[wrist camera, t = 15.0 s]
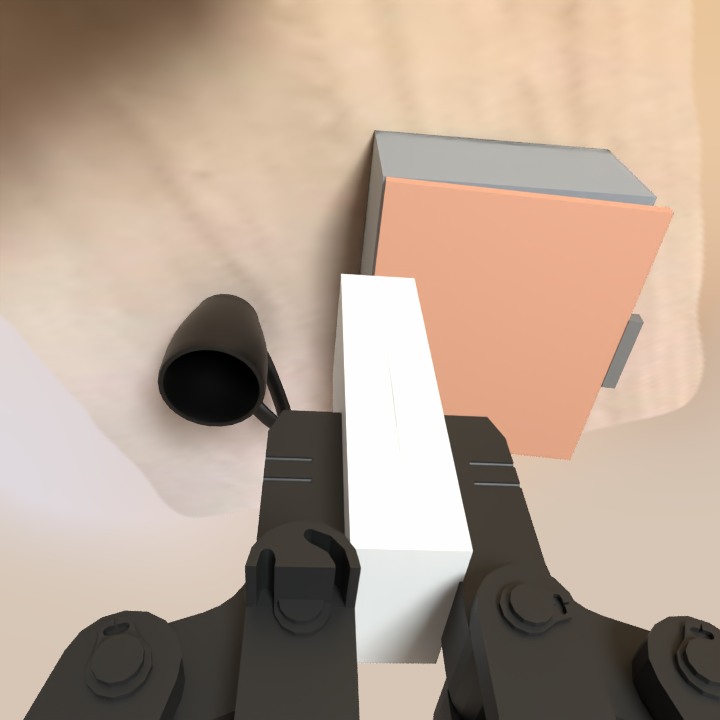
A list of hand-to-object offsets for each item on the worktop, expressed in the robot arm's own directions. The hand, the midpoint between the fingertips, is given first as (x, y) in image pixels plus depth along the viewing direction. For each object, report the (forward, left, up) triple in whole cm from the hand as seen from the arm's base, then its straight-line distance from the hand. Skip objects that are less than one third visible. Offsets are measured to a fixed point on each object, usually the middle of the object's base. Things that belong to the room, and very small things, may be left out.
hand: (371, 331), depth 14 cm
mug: (-7, -26, -37) cm, 45 cm away
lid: (+13, -18, -27) cm, 34 cm away
